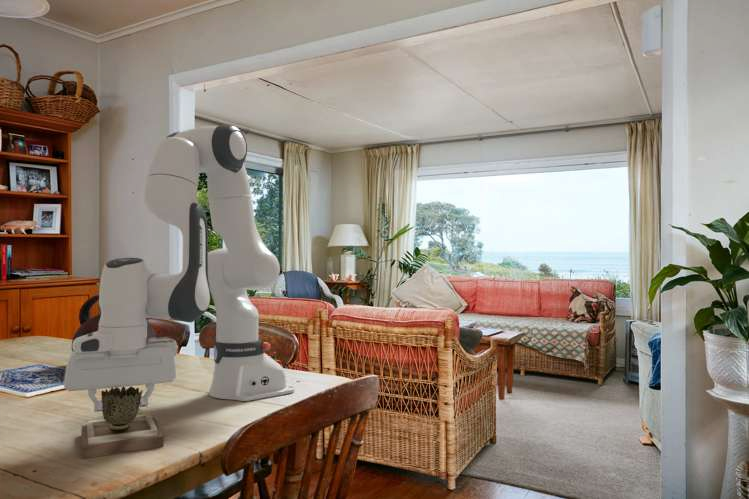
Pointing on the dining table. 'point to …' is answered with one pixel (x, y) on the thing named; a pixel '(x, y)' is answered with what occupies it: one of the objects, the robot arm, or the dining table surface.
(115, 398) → the cup
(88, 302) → the jug
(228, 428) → the dining table surface
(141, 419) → the plate
